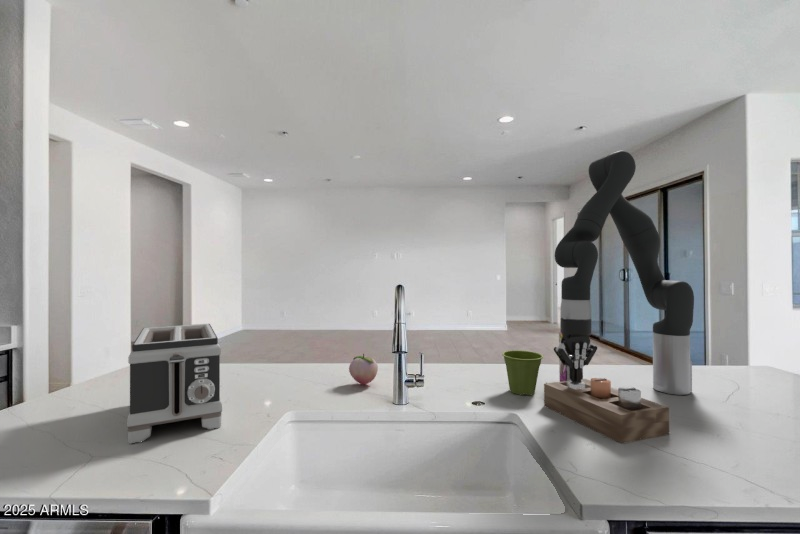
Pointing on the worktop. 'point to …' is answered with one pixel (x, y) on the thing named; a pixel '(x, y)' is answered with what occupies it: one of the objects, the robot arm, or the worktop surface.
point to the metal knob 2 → (629, 398)
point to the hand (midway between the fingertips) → (575, 381)
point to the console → (607, 412)
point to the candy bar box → (564, 367)
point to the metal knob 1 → (576, 385)
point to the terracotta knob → (600, 387)
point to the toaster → (174, 378)
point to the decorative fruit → (363, 369)
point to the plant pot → (522, 370)
